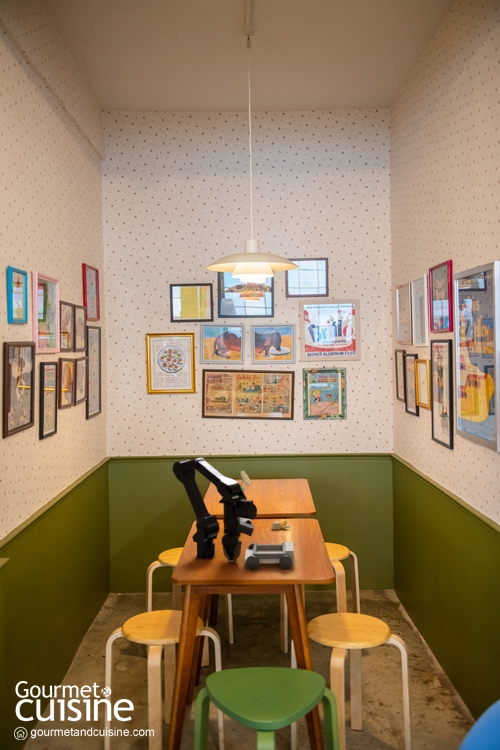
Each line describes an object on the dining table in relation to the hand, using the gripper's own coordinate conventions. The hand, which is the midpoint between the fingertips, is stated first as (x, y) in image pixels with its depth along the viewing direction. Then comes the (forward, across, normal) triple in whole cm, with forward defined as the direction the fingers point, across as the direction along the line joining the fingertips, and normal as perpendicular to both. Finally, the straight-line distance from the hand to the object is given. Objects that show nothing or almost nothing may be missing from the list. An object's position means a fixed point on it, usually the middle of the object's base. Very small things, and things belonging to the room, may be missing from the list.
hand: (232, 557), depth 249 cm
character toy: (+3, +47, -19) cm, 51 cm away
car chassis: (+2, 0, -14) cm, 14 cm away
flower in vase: (+2, +54, 0) cm, 54 cm away
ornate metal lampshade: (+2, 0, 0) cm, 2 cm away
